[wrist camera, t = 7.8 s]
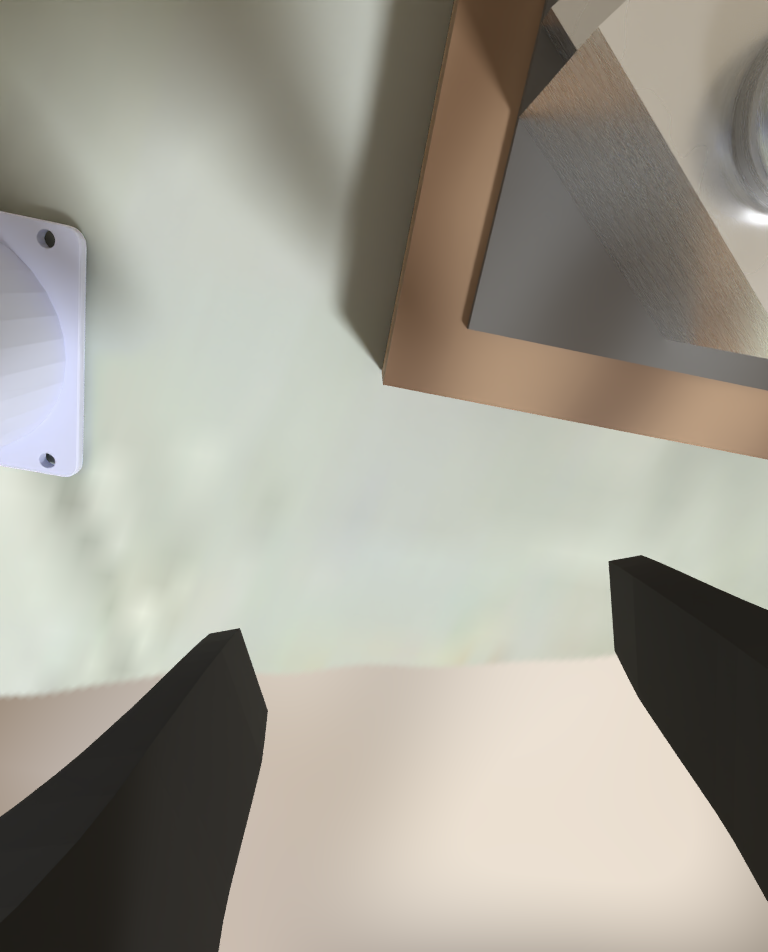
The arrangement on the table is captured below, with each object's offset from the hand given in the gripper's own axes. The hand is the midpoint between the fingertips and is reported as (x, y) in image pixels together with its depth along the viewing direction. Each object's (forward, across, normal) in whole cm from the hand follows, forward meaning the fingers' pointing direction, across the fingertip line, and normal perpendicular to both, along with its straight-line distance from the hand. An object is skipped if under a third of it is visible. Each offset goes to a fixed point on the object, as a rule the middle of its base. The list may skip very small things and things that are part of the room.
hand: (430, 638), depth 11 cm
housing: (+7, -8, -8) cm, 13 cm away
